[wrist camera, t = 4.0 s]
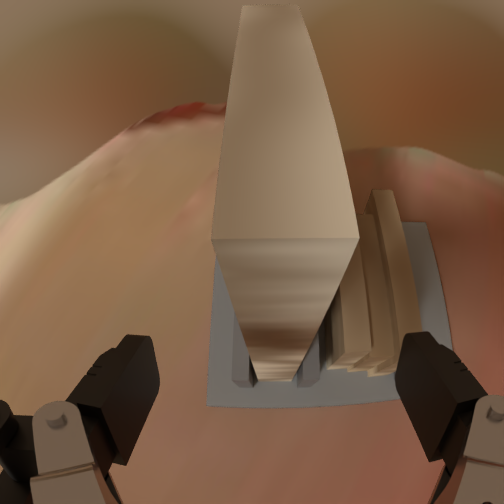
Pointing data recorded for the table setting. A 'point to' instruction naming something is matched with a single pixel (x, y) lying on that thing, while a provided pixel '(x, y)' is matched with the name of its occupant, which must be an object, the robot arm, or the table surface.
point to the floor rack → (315, 349)
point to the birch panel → (280, 192)
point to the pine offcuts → (373, 295)
